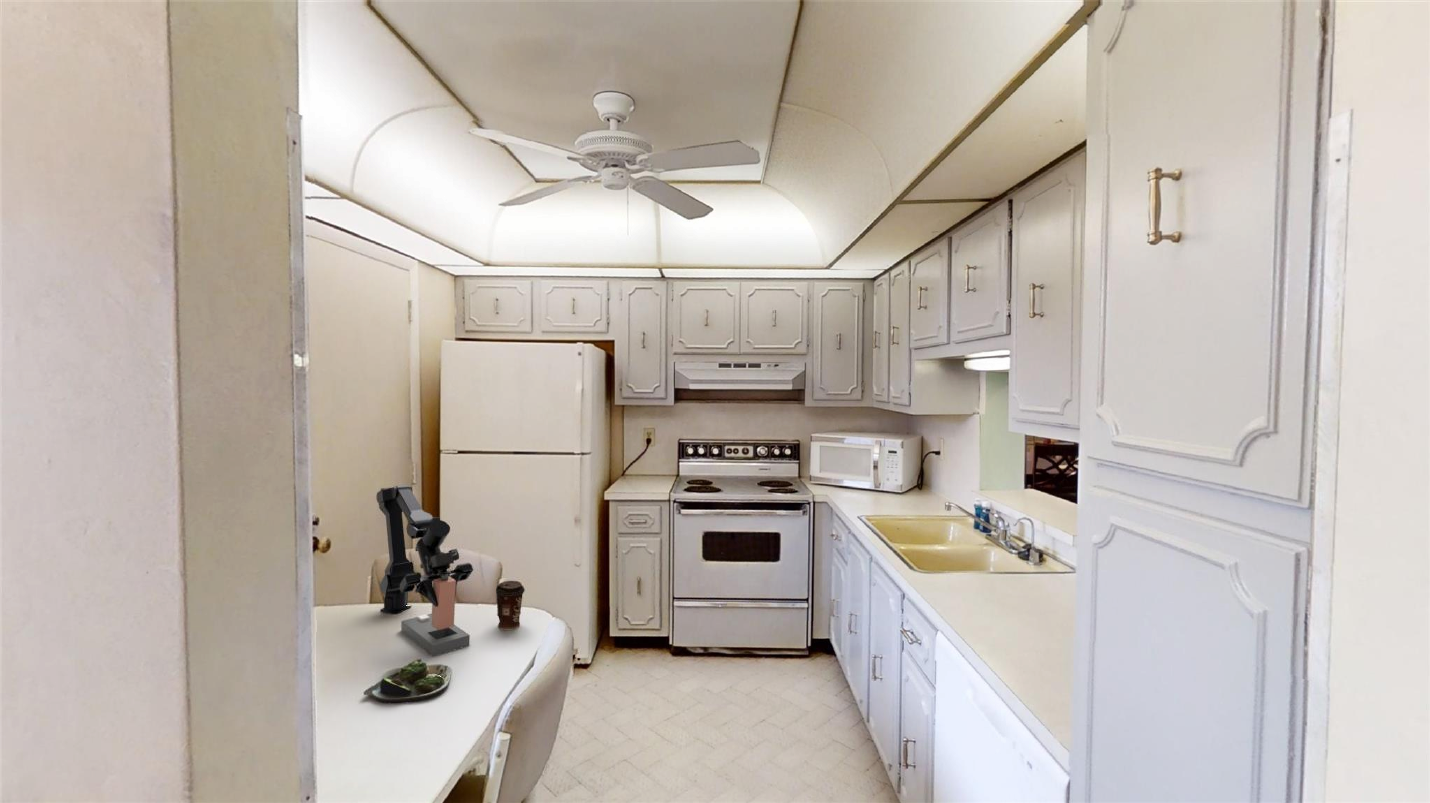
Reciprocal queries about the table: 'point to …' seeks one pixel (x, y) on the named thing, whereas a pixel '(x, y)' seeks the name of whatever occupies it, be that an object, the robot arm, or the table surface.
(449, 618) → the pink capped bottle
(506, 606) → the coffee cup
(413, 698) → the salad plate
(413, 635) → the grey slotted holder
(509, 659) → the table surface
